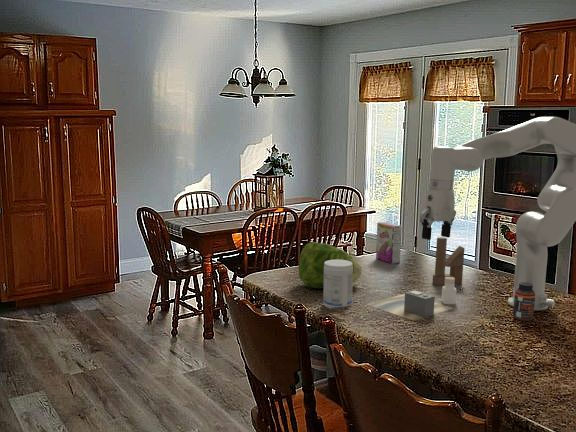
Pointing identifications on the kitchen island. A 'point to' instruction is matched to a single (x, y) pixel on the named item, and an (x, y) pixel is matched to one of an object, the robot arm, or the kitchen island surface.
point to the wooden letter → (448, 263)
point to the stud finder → (419, 303)
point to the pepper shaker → (449, 291)
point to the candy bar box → (388, 242)
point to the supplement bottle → (524, 302)
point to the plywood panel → (397, 307)
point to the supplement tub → (337, 283)
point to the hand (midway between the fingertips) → (435, 237)
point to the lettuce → (321, 263)
